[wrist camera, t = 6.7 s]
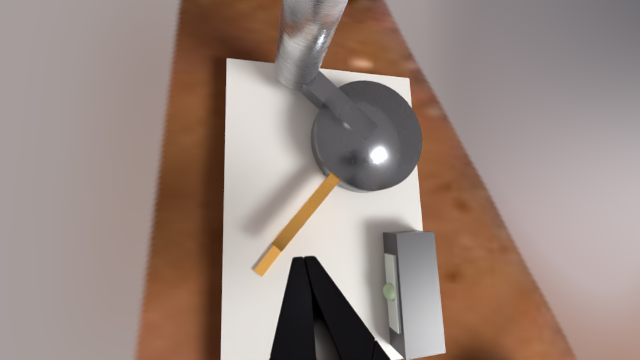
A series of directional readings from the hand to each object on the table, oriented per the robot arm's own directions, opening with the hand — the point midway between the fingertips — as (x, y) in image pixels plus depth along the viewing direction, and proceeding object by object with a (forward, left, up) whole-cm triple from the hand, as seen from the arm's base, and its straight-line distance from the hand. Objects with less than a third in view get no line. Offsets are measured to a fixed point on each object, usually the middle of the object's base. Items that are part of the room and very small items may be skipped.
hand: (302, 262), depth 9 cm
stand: (+2, -4, -10) cm, 11 cm away
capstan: (+7, -3, -8) cm, 11 cm away
